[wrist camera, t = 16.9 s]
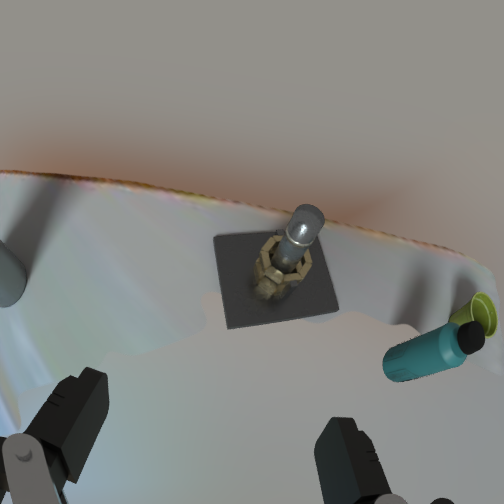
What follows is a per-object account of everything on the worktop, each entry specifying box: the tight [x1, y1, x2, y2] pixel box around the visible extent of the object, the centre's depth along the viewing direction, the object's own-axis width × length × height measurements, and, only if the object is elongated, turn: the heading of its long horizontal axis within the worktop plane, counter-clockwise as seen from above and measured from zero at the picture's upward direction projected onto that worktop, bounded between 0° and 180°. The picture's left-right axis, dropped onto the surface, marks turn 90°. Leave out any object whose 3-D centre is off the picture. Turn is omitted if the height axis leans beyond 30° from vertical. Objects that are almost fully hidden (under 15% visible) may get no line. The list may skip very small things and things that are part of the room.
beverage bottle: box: [383, 321, 485, 382], centre depth 36 cm, size 6×7×20 cm
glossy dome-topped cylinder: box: [266, 204, 325, 285], centre depth 41 cm, size 4×4×16 cm
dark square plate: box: [213, 230, 339, 329], centre depth 46 cm, size 18×15×7 cm
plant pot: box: [449, 292, 498, 338], centre depth 47 cm, size 9×9×9 cm
